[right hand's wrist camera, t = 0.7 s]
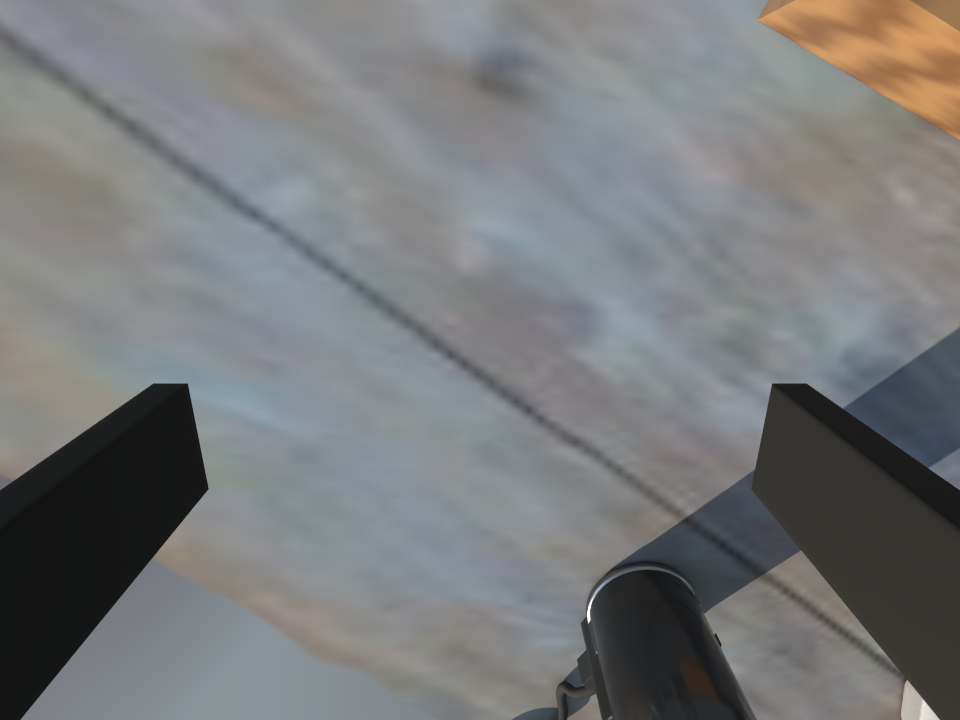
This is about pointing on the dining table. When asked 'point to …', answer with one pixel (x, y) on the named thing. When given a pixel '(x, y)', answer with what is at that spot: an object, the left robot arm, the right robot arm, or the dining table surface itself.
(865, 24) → the bar
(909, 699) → the wall clock
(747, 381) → the dining table surface
